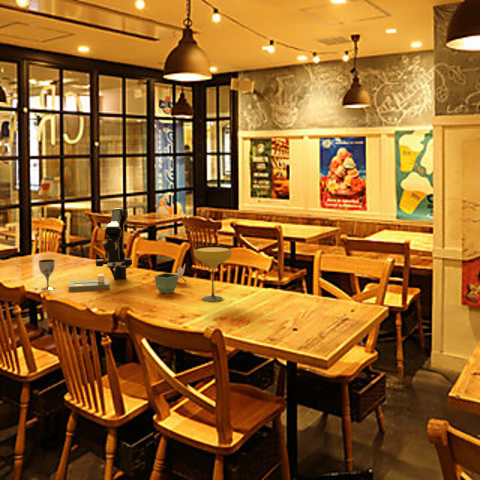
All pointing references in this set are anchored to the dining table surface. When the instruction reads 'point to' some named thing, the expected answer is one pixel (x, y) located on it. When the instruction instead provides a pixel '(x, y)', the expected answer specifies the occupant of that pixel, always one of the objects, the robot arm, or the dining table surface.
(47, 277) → the wine glass
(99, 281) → the fader
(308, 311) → the dining table surface
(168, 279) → the flower pot
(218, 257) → the cocktail glass
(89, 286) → the console
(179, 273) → the water lily
